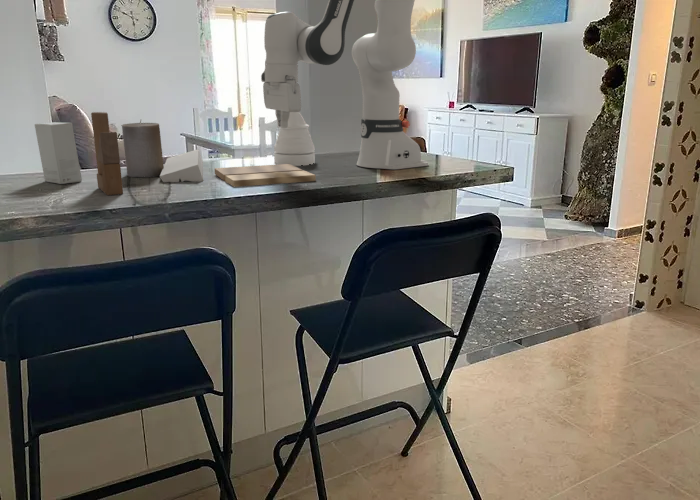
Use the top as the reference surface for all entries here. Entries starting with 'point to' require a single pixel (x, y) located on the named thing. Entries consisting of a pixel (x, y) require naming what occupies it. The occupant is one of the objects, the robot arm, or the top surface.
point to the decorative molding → (183, 167)
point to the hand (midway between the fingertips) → (282, 127)
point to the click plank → (254, 170)
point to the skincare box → (58, 152)
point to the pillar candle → (142, 149)
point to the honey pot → (294, 143)
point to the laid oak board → (269, 178)
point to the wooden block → (106, 155)
